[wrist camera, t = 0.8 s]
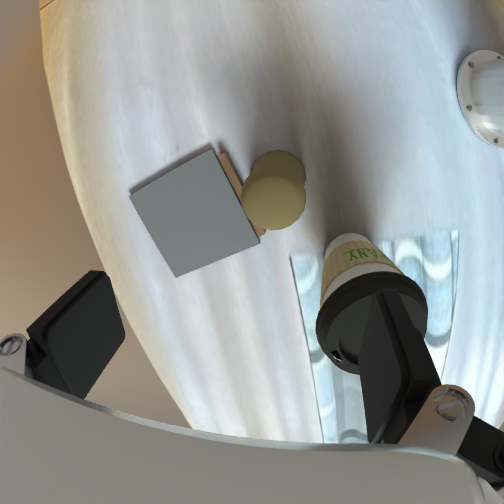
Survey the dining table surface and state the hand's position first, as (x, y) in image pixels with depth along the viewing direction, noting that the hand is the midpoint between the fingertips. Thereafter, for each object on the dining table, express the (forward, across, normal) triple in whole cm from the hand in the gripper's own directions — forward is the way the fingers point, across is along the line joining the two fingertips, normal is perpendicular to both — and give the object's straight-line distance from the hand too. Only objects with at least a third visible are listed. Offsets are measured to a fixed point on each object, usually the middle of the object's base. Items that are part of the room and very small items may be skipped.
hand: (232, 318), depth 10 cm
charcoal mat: (+25, +10, +5) cm, 27 cm away
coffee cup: (+25, -9, +9) cm, 28 cm away
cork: (+25, 0, 0) cm, 25 cm away
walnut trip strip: (+25, +4, +2) cm, 25 cm away
